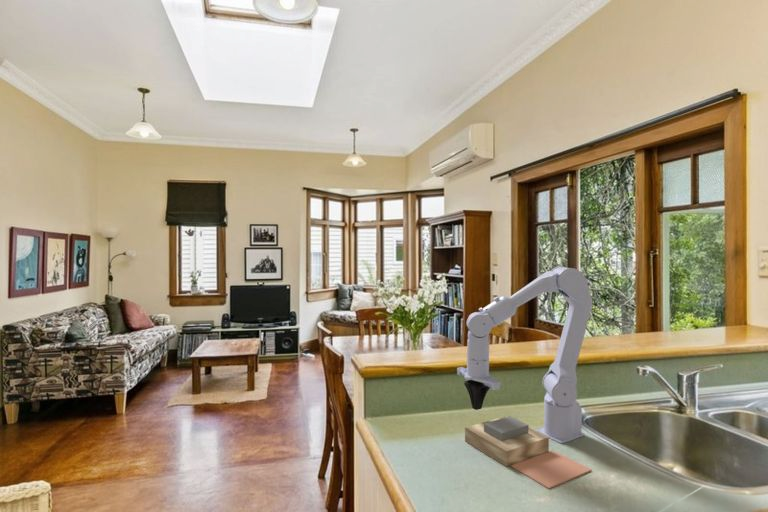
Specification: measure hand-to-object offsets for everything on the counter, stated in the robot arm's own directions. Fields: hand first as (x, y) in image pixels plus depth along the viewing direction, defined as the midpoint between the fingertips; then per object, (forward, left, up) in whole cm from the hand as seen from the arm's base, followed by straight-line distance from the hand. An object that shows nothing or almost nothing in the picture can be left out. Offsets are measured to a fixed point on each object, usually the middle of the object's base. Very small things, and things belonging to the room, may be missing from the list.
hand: (477, 408), depth 114 cm
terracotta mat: (-1, +23, -6) cm, 24 cm away
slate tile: (0, +10, -2) cm, 11 cm away
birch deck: (0, +10, -6) cm, 12 cm away
